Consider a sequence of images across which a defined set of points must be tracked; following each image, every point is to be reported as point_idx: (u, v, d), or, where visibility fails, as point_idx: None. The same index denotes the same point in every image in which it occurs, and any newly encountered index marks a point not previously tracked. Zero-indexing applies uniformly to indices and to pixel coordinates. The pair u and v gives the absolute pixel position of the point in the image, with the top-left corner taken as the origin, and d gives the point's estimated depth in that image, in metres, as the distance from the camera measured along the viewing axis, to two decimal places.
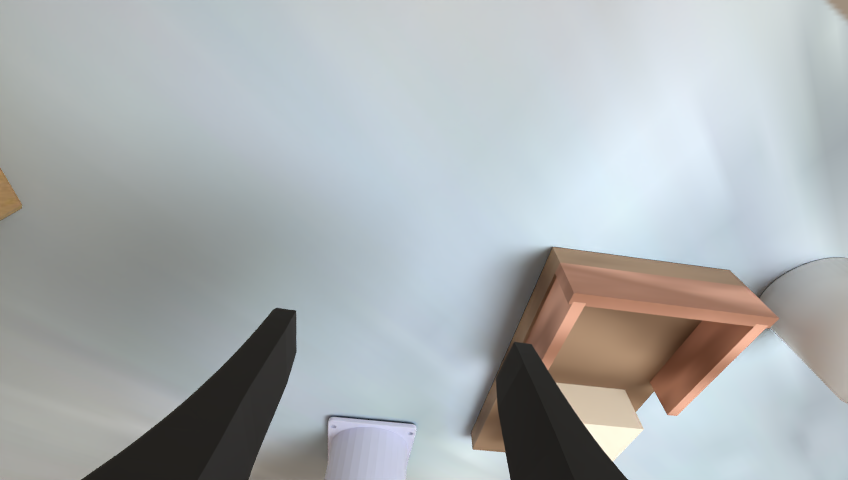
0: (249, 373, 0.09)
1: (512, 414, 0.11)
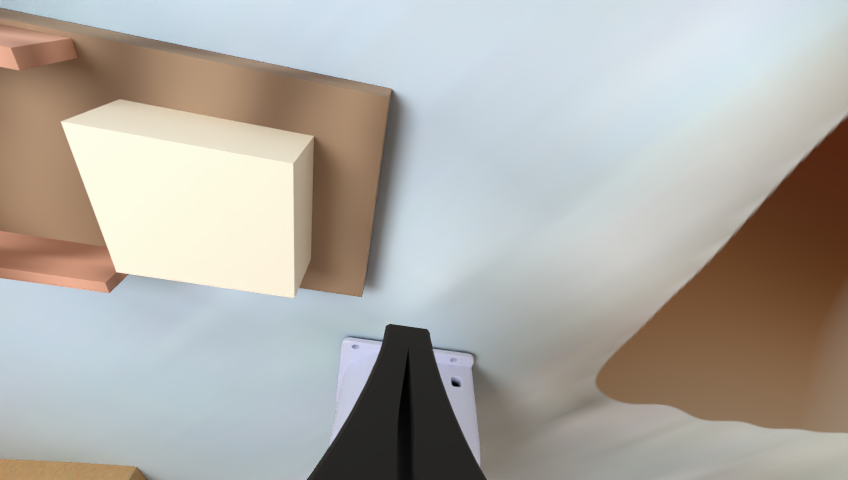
0: (393, 391, 0.09)
1: (400, 400, 0.11)
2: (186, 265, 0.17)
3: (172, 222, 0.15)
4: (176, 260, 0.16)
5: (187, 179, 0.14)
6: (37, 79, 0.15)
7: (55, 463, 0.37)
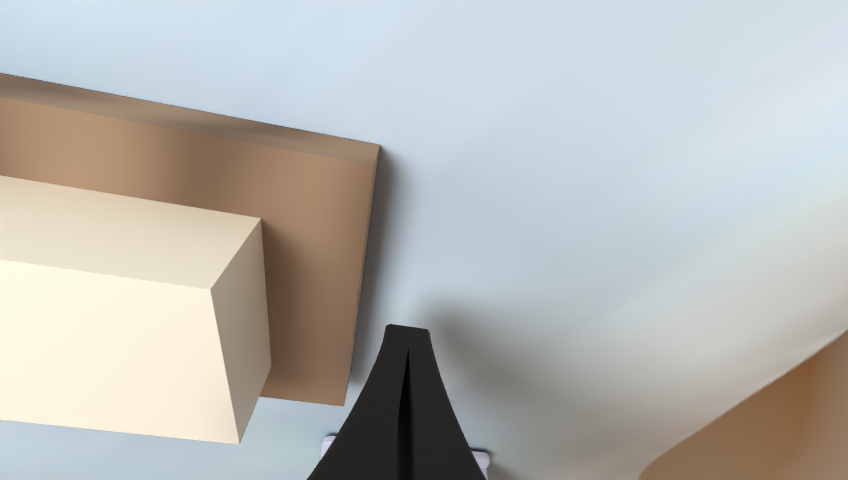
0: (393, 391, 0.09)
1: (400, 400, 0.11)
2: (71, 409, 0.11)
3: (35, 361, 0.10)
4: (55, 404, 0.11)
5: (39, 309, 0.09)
6: None
7: None
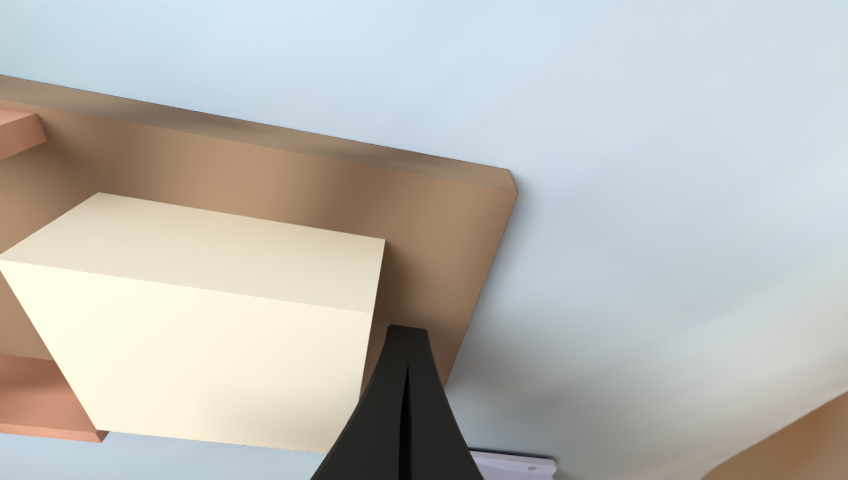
0: (395, 391, 0.09)
1: None
2: (197, 423, 0.11)
3: (178, 379, 0.10)
4: (183, 418, 0.11)
5: (202, 331, 0.09)
6: None
7: None
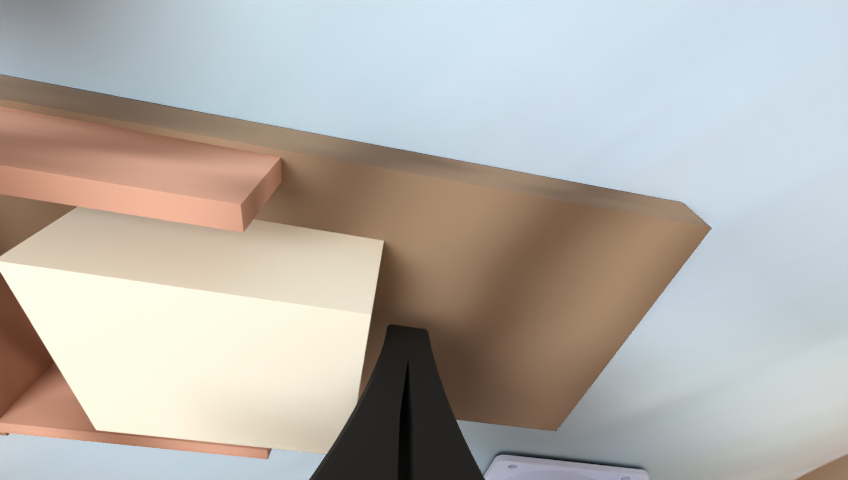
0: (395, 391, 0.09)
1: None
2: (197, 424, 0.11)
3: (177, 380, 0.10)
4: (182, 419, 0.11)
5: (201, 332, 0.09)
6: None
7: None
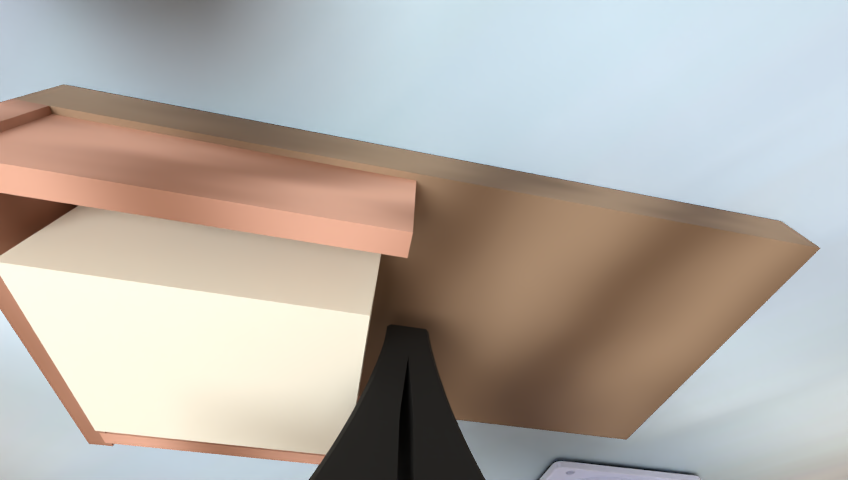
0: (394, 391, 0.09)
1: None
2: (196, 425, 0.11)
3: (177, 381, 0.10)
4: (181, 419, 0.11)
5: (199, 333, 0.09)
6: None
7: None
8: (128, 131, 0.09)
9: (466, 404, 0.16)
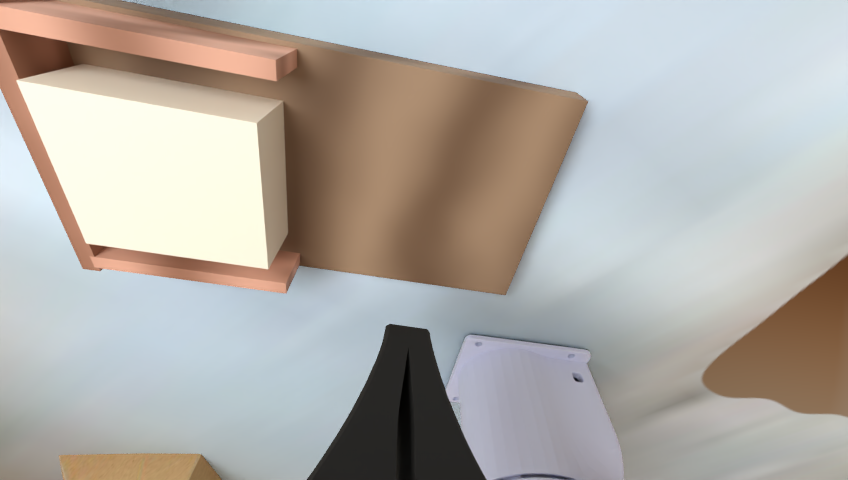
0: (393, 391, 0.09)
1: (400, 400, 0.11)
2: (156, 235, 0.16)
3: (138, 189, 0.15)
4: (145, 230, 0.16)
5: (150, 142, 0.14)
6: (252, 88, 0.16)
7: (124, 455, 0.38)
8: (101, 10, 0.14)
9: (372, 258, 0.21)
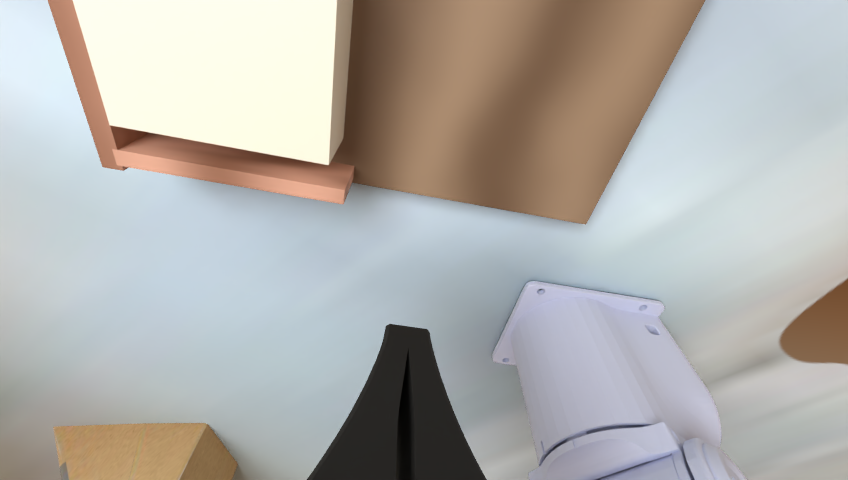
0: (393, 391, 0.09)
1: (400, 400, 0.11)
2: (196, 113, 0.13)
3: (180, 42, 0.12)
4: (184, 105, 0.13)
5: None
6: None
7: (123, 426, 0.34)
8: None
9: (438, 173, 0.18)
